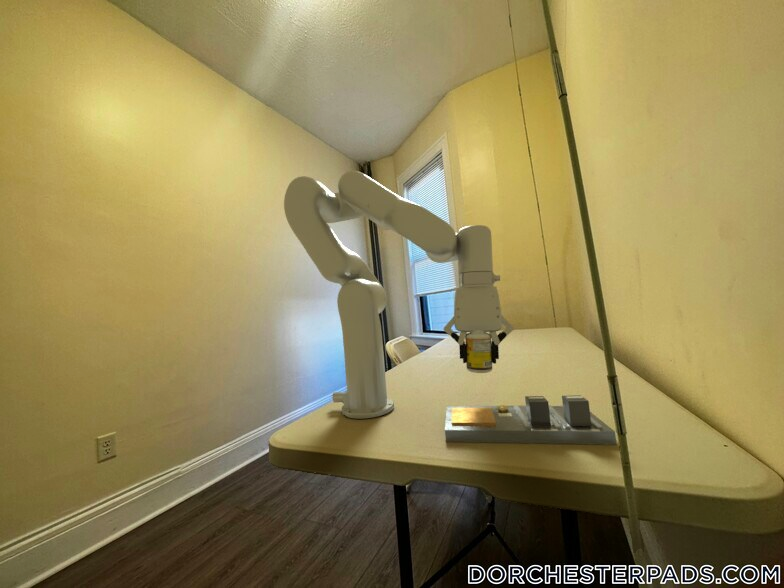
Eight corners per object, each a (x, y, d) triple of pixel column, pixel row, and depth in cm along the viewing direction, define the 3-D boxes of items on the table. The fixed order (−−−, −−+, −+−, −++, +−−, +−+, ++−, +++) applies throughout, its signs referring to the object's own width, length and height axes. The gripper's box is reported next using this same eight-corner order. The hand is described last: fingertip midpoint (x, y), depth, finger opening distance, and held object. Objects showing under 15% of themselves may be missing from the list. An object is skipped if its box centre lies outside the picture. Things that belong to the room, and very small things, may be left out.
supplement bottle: (467, 367, 68) (466, 324, 68) (492, 368, 66) (490, 324, 67) (465, 373, 63) (463, 325, 63) (492, 374, 61) (490, 325, 61)
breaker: (571, 425, 48) (568, 400, 48) (564, 418, 50) (561, 394, 51) (591, 426, 47) (588, 399, 47) (583, 418, 50) (580, 394, 50)
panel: (445, 441, 50) (442, 405, 50) (447, 415, 62) (445, 386, 62) (616, 444, 45) (611, 403, 45) (582, 415, 56) (579, 383, 57)
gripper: (513, 281, 67) (516, 359, 66) (438, 284, 71) (440, 358, 70) (520, 278, 60) (524, 366, 59) (436, 282, 63) (439, 365, 63)
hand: (478, 361), depth 65 cm, fingers closed on supplement bottle, 5 cm apart
